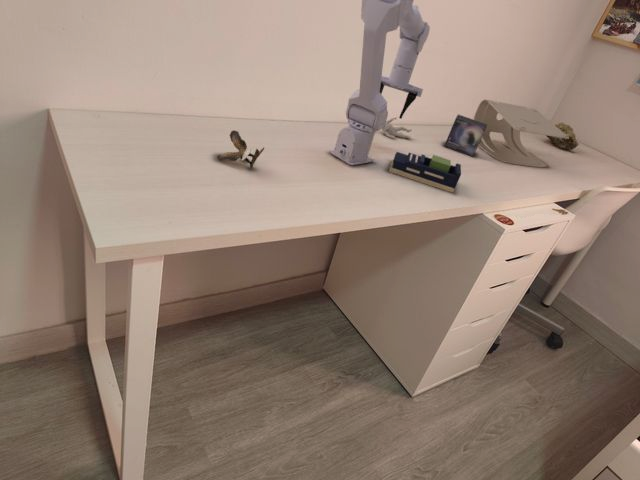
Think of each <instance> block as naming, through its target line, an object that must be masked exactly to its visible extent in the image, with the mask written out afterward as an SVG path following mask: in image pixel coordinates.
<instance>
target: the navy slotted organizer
mask: <svg viewBox="0 0 640 480" xmlns="http://www.w3.org/2000/svg"><path fill="white" fill-rule="evenodd" d="M431 159H432V157H431V158H430V157H428V156H426V154H423V153H421V155H418V154H415V153H413V152H408V154H406V153H403V152H399V151H396V152H395V153H394V156H393V158H392V161H391V164H390V166H389V170H388V172H389V173H393V174H395V175H399V176H402V177H403V178H407V179H410V180H413V181H416V182H419V183H421V184H425V185H429V186H430V187H434V188H437V189H439V190H443V191H446V192H449V193H452V194H453V193H454V192H455V189H456V187H457V185H458V183H459V180H460V178H461V176H462V165H461V164H460V163H458V162H456V164H455V165H452V164H451V166H450V169H449V171H448V173H446V172H443V171H440V170H437V169H434V168H431V167H428V166H429V164H430V161H431Z"/></svg>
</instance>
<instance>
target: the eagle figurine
mask: <svg viewBox="0 0 640 480" xmlns="http://www.w3.org/2000/svg"><path fill="white" fill-rule="evenodd" d="M229 138H230V141H231V143H232V144H233V146H234V147H235V148H236V149H237V150H238V151H226V152H224V153H221V154H218V155H217V156H216V158H217V160H219V161H223V160H224V161H225V160H228V161H231V162H236V161H238V160H239V159H240V160H241V161H242V162H243V161H245V162H246V163H248V164H249V167H250V170H253V168H254V164H255V162H256V161H257V159H258V158H259V156H260V155H262V153H263V152H264V150H265V147H264V146H263V147H262V148H261V149H260V150H259V149H258V148H256V149H255V151H254V154H253V153H252V152H251V148H248V146H247V143H246V141H245V140H244V139H242V136H241V135H240V132H239V131H238V130H234V129H233V130H231V132H230V134H229ZM248 157H251V160H250V159H249V158H248Z"/></svg>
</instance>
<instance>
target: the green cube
mask: <svg viewBox="0 0 640 480" xmlns="http://www.w3.org/2000/svg"><path fill="white" fill-rule="evenodd" d="M451 162H452V160H451V159H448V158H445V157H442V156H439V155H436V154H432V156H431V161H430V164H429V166H428V167H431V168H434V169H437V170H440V171H443V172H446V173H448V171H449V169H450V166H451V165H452V164H451Z"/></svg>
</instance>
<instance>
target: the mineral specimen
mask: <svg viewBox="0 0 640 480" xmlns="http://www.w3.org/2000/svg"><path fill="white" fill-rule="evenodd" d="M554 125H555V126H556V127H557V128H558V129H560V130H561V131H562V132H563V133H564V134H569V135H570V136H569V139H565V138H559V137H553V136H547V135H545V136H546V137H547V139H548V140H549V141H550V142H551V143H553V144H554V145H555V146H556V147H557V148H560V149H565V150H574V149H576V148H577V147H578V146H579V144H580V143H578V141H577V139H576V134H575V132H574V129H573V128H572V127H571V126H570V125H568V124H566V123H564V122H563V121H561V122H558V124H554Z"/></svg>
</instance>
